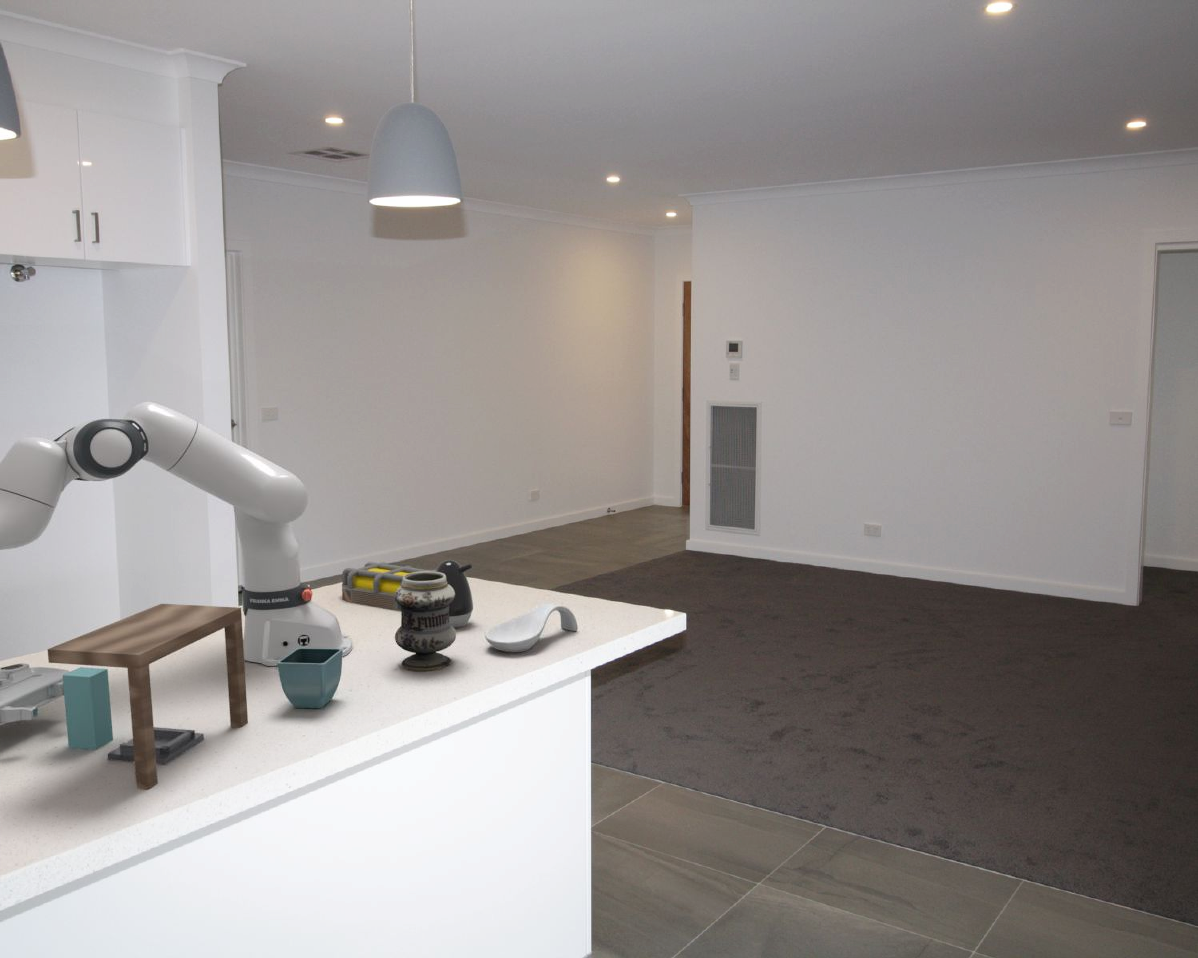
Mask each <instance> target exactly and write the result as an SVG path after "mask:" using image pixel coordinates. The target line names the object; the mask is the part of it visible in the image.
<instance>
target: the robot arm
mask: <svg viewBox="0 0 1198 958" xmlns="http://www.w3.org/2000/svg"><path fill="white" fill-rule="evenodd" d="M141 460H143V461H146V462H149V463H152V464H154V465H155V466H158V467H159V468H160V469H162V470H164V471H165V472H168V473H170V474H172V475H174V476H175V477H177V478H179V479H181V480H183V481H185V482H186V483H188V484H190V485H193V487H196V488H198V489H200V490H201V491H204V492H206V493H208V494H210V495H211V496H213V497H216V498H217V499H220V500H221V501H224V502H225V503H227V504H229V505H231V506H233V512H234V518H235V523H236V528H237V534H238V537H239V541H240V547H241V555H242V569H243V588H242V590H241V591H242V593H241V603H242V612H243V615H244V629H243V648H244V661H247V662H251V663H259V664H262V665H265V666H267V667H273V666H274V667H276V666H277V662H278V661H280V660H281V659H283V658H284V657H286V656H287V655H288V654H290V653H291V652H292V651H294V650H295V649H297V648H333V649H334V648H335V649H343V653H342V657H344V656H347V655H348V654H349V653H351V651H352V649H353V646H354V645H353V640H352V637H350V636H349V635H346V634H344V633H342V630H341V629H342V628H341V626H340V622H339V620H338V618H337V617H336V615H335V614H333V613H332V612H330V611H329V610H327V609H326V608H324V607H322V606H321V605H319V604H317V603H316V602H315V601H313V600H312V599H313V598H312V597H313V591H312V588H311V586H310V584H305V583H303V582H301V565H300V550H299V549H300V548H299V544H298V542H297V540H296V536H295V534H294V530H293V524H292V522H294V521H296V520H298V519H299V518H300V517H301V516H302V515H303V514H304V512H305V510H306V509H307V507H308V502H309V497H308V496H309V495H308V491H307V488H306V486H305V485H304V484H303V482H302V480H300V479H299V478H298V476H297V475H296V474H294V473H293V472H291V471H289V470H287V469H285V468H283V467H282V466H280V465H278V464H275V463H274V462H272V461H270V460H269V459H266V458H264V457H263V456H262V455H259V454H257V453H255V452H254V451H251V450H250V449H247V448H245V447H244V446H241V445H240V444H237V443H235V442H234V441H231V440H230V439H228V438H226V437H225V436H223V435H222V434H219V433H217V432H216V431H214V430H213V429H211V428H209V427H208V426H206V425H204V424H202V423H200V422H199V421H197V420H195V419H193V418H191V416H190V417H189V416H187V415H185V414H184V413H181V412H179V411H177V410H174V409H172V408H170V407H167V406H165V405H162V404H159V403H155V402H153V401H143V402H141V403H139V404H136V405H135V406H134V407H132V408H131V409H130V410H129V411H128V412H127V413H126V414H125V416H124V418H123V419H117V418H101V419H96V420H95V419H94V420H87V421H84V422H81V423H80V424H78V425H76V426H73V427H71V428H70V429H68V430H67V431H65V432H64V433H63V434H60V436H59V437H57V438H55V439H54V440H51V439H49V438H44V437H41V436H40V437H39V436H25V437H22V438H20V439H18V440H17V441H16V442H14V443H13V445H12V446H11V448H10V449H9V450H8V451H7V452H6V454H5V455H4V456H3V459H2V460H1V461H0V551H3V550H10V549H11V550H12V549H17V548H18V549H19V548H21V547H25V546H26V545H29V544H32V543H33V542H34V541H36V540H38V539H39V538H40V537H41V536H42V534H43V533H44V532H45V531H46V529H47V527H48V525H49V524H50V521H51V519H52V517H53V515H54V512H55V509H56V507H57V505H58V503H59V501H60V498H61V495H62V493H63V492H64V490H65V489H66V487H67V486H68V485H69V484H70V483H71V482H72V481H83V482H84V481H85V482H90V481H91V482H103V481H107V480H112V479H115V478H118V477H120V476H122V475H124V474H126V473H128V471H130V470H131V469H132V468H134V467H135V466H136V464H137V463H139V461H141ZM69 672H71V670H69V669H68V670H67V669H65V668H64V669H62V668H55V667H45V666H34V667H30V664H29V663H23V662H21V663H16V664H12V665H8V666H2V667H0V727H1V726H3V725H5V724H7V723H14V722H19V721H31V720H33V719H35V718H37V717H38V716H39V713H38V709H39V708H41V707H43V706H45V705H48V704H49V703H51V702H54V701H56V700H58V699H60V698H62V697H64V687H63V675H64V674H66V673H69Z"/></svg>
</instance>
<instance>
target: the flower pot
mask: <svg viewBox="0 0 1198 958" xmlns="http://www.w3.org/2000/svg"><path fill="white" fill-rule="evenodd" d="M342 653H343V649H335V648H334V649H333V648H297V649H295V650H294V651H292V652H291V653H290V654H288V655H287V656H286V657H284V658H283V659H281V660H280V661H278V662H277V665H276V666H277V670H278V675H279V680H280V681H279V682H280V685H281V689H282V691H283V693H284V695H285V698H286V699H287V700H288V701H289V703H291V705H292V706H293V707H294V708H297V709H299V708H301V709H305V708H306V709H322V708H323V707H324V706H326V705H327V704H328V703H329V702H330V701H331V700H332V699H333V698H334V695H335V693H336V692H337V689H338V687H339V684H340V681H341V677H342V667H343V665H342V664H343V656H342Z"/></svg>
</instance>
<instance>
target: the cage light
mask: <svg viewBox="0 0 1198 958" xmlns="http://www.w3.org/2000/svg"><path fill="white" fill-rule="evenodd" d="M419 571H434V572H435V571H436V569H432V570H430V569H429V570H428V569H424V568H423V569H422V568H415V567H412V566H410V565H405V566H401V565H394V564H387V563H386V562H383V561H382V562H373V561H368V562H366V563H365V564H364V566H363V567H358V568H353V567H347V568H344V570H343V571H342V574H341V579H342V583H341V593H342V600H343V601H345V602H346V603H350V604H355V605H362V606H368V607H374V608H379V609H380V608H381V609H384V610H385V609H386V610H391V611H397V612H401V606H400V605H399V604H397V602H396V601H395V597H394V596H395V592H396V591H397V589H398V588H399V587H400V586H401V585H402V581H403V576H404V575H406V574H409V573H413V572H419Z"/></svg>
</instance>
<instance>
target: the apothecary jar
mask: <svg viewBox="0 0 1198 958" xmlns="http://www.w3.org/2000/svg"><path fill="white" fill-rule="evenodd" d="M394 597H395V601H396V602H397V604H399V605H400V606H401V611H400V613H401V614H400V615H401V616H400V617H401V618H400V619H401V620H400V623H401V624H400V626H399V627H398V628H397V630H396V632H395V635H394V641H395V643H396V645H397V646H398V647H399V648H401V649H402V650H404V651H406V652H408V653H413V654H411V655H409V656H407V657H405V658H404V659H403V660H402V661H401V663H400V664H401V666H402V667H403V669H407V670H409V671H414V672H415V671H416V672H417V671H419V672H427V671H428V672H429V671H437V670H441V669H443V668H444V667H446V666H450V665H451V663H452V659H451V658H450V657H449V656H448V655H444V654H442V653H439V652H440V651H443V650H446V649H448V648H450V647H451V646H452V645H453V644H454V642H455V641H456V638H457V631H456V628H453V627H452V626H451V625H450V621H449V604H450V603H451V602H452V601H453V599H454V597H455V592H454V589H453V588H452V587H451V586H450V585H449V584H447V581H446V575H445V574H444V573H441V572H434V571H431V570H430V571H419V572H413V573H409V574H406V575H404V576H403V581H402V585H401V586H400V587H399V588H398V589H397V591H396V592H395V596H394Z"/></svg>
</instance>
